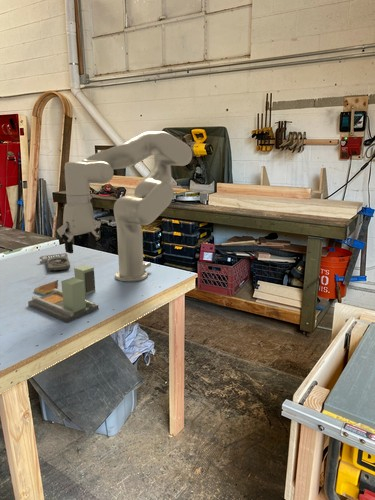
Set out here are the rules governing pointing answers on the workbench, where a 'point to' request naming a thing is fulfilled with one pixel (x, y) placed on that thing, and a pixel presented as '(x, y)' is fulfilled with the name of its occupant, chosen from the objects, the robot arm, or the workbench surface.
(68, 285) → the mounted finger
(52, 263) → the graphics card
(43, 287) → the shard
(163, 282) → the workbench surface
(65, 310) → the dark grey tray
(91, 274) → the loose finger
